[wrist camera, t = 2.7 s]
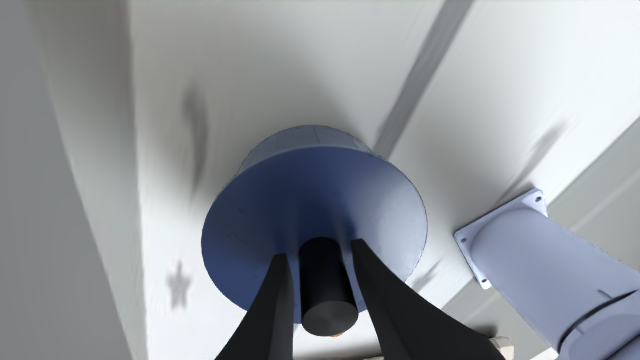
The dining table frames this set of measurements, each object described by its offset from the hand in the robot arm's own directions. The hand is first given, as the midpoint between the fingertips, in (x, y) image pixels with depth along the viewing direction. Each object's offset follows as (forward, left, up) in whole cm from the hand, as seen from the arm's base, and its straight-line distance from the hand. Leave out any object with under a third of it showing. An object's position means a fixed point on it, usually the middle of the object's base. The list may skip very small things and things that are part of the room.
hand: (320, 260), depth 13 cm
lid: (0, 0, -1) cm, 1 cm away
